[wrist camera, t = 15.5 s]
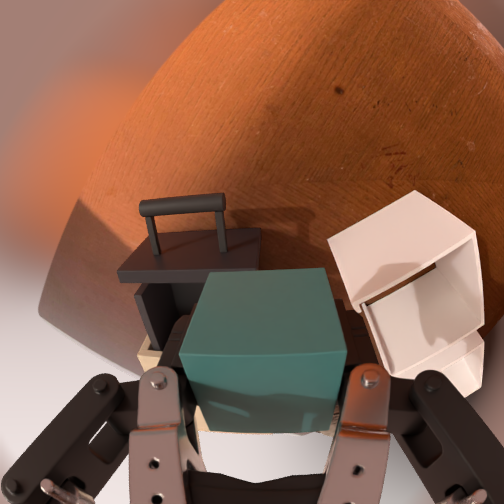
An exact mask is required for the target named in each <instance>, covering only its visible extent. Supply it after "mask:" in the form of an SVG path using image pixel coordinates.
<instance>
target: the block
mask: <svg viewBox="0 0 504 504" xmlns="http://www.w3.org/2000/svg"><path fill="white" fill-rule="evenodd" d="M179 356H180V359H181V362H182V364H183V367H184V370H185V372H186V375H187V378H188V380H189V383H190V385H191V388H192V391H193V393H194V396H195V398H196V400H197V403H198V405H199V408H200V410H201V412H202V415H203V417H204V419H205V422H206V424H207V426H208V428H209V430H210V431H217V432H233V433H300V432H316V431H327V430H329V429H330V425H331V422H332V418H333V414H334V410H335V406H336V402H337V398H338V394H339V390H340V385H341V381H342V376H343V372H344V367H345V362H346V357H347V347H346V343H345V339H344V335H343V331H342V327H341V324H340V320H339V316H338V312H337V309H336V305H335V302H334V298H333V295H332V291H331V288H330V284H329V281H328V278H327V274H326V271H325V268H307V269H285V270H261V271H235V272H210V273H209V276H208V278H207V281H206V283H205V286H204V288H203V291H202V293H201V296H200V299H199V301H198V304H197V306H196V309H195V312H194V314H193V317H192V319H191V322H190V325H189V327H188V330H187V333H186V335H185V338H184V341H183V343H182V346H181V349H180V352H179Z"/></svg>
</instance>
